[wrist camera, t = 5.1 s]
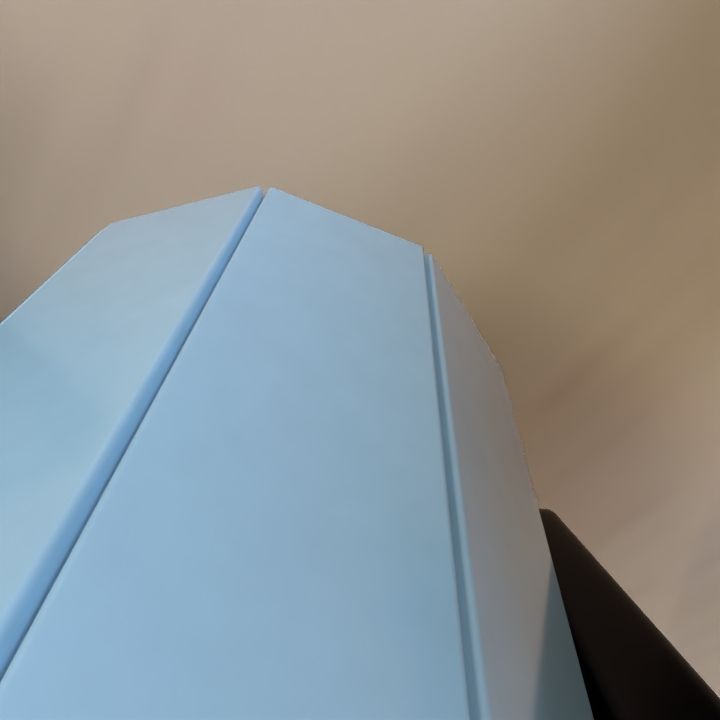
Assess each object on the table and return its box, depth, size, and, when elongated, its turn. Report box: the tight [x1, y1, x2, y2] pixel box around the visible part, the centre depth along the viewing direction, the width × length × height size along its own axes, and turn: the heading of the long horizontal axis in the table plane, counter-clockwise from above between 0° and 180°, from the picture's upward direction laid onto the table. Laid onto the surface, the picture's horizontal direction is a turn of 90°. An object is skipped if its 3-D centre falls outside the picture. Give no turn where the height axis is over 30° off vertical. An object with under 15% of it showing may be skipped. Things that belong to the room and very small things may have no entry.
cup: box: [0, 186, 594, 720], centre depth 7 cm, size 7×7×8 cm
